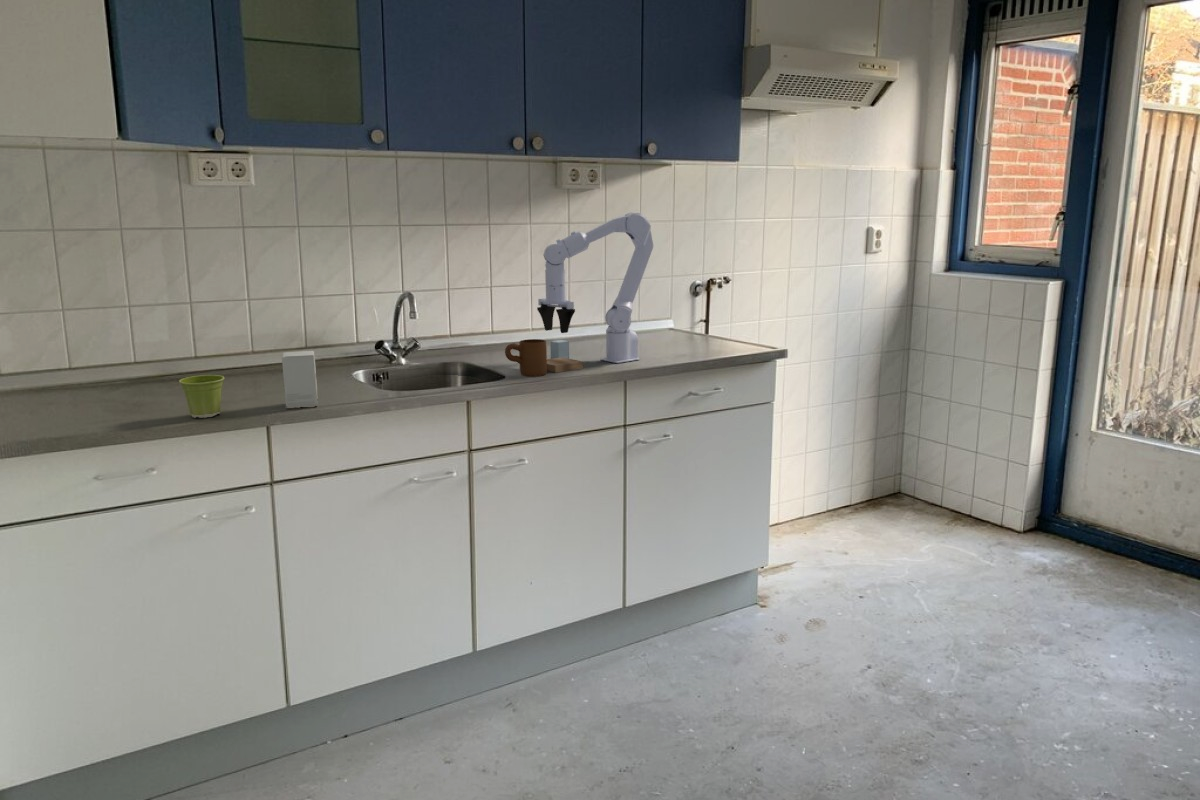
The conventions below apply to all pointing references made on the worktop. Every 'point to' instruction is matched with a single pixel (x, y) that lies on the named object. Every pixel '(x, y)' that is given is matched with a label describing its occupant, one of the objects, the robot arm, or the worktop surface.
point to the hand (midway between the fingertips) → (556, 331)
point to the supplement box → (299, 378)
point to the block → (559, 349)
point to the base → (563, 364)
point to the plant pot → (203, 393)
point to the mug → (529, 356)
